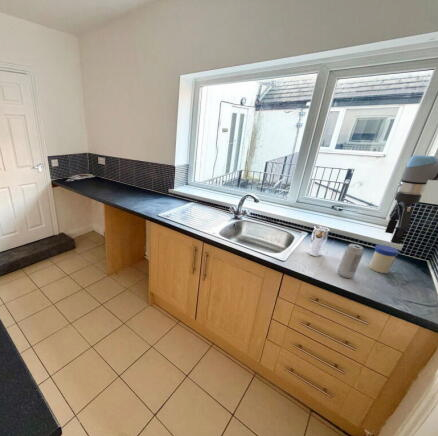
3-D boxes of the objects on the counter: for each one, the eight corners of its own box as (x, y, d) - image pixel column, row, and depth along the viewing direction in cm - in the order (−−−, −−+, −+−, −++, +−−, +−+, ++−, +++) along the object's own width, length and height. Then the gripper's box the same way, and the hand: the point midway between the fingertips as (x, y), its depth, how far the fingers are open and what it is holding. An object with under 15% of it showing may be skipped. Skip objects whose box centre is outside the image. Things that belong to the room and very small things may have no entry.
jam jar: (380, 265, 120) (388, 246, 117) (393, 273, 114) (401, 253, 110) (365, 264, 121) (372, 245, 117) (376, 272, 114) (384, 252, 110)
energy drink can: (343, 270, 115) (354, 242, 110) (356, 277, 110) (368, 248, 104) (333, 271, 114) (344, 244, 108) (346, 279, 109) (358, 250, 103)
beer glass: (309, 248, 135) (316, 224, 130) (323, 254, 130) (332, 228, 125) (304, 253, 131) (311, 228, 125) (319, 258, 126) (327, 232, 120)
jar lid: (383, 256, 111) (384, 251, 110) (370, 248, 118) (371, 244, 117) (401, 257, 110) (403, 253, 109) (387, 249, 117) (389, 245, 117)
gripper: (391, 186, 116) (376, 227, 123) (404, 197, 96) (386, 245, 104) (413, 188, 112) (396, 230, 119) (431, 200, 92) (410, 250, 100)
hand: (391, 237), depth 111 cm, fingers open, 13 cm apart
